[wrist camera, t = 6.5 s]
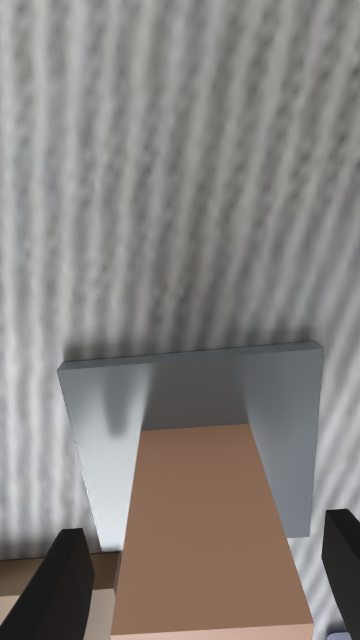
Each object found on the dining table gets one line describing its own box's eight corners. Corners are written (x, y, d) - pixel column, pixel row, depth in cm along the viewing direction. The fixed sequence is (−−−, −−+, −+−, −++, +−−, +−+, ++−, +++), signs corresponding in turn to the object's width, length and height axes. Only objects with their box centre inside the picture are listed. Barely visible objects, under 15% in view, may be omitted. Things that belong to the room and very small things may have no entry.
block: (249, 423, 12) (314, 623, 6) (248, 503, 13) (302, 725, 8) (140, 431, 12) (110, 635, 6) (151, 510, 14) (134, 734, 8)
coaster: (316, 341, 12) (323, 348, 11) (304, 523, 15) (309, 536, 14) (62, 362, 12) (56, 370, 11) (104, 538, 15) (102, 551, 14)
